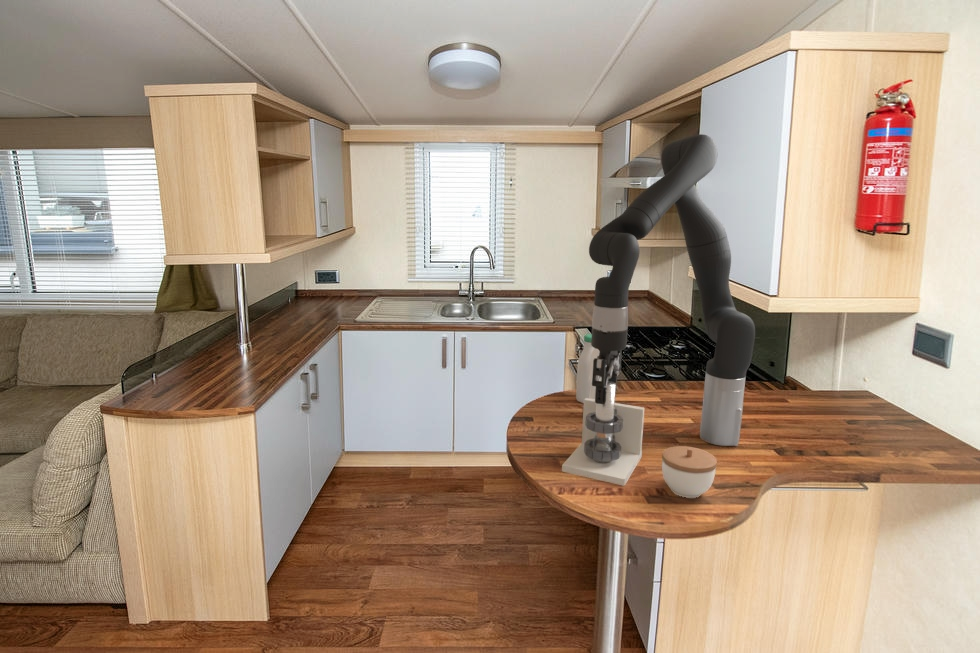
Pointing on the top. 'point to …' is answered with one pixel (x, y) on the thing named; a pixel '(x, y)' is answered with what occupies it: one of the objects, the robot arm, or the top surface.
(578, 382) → the milk bottle
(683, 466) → the lidded jar
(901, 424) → the top surface
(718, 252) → the robot arm
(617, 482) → the tube holder
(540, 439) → the top surface
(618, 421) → the collars
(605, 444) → the steel tube
